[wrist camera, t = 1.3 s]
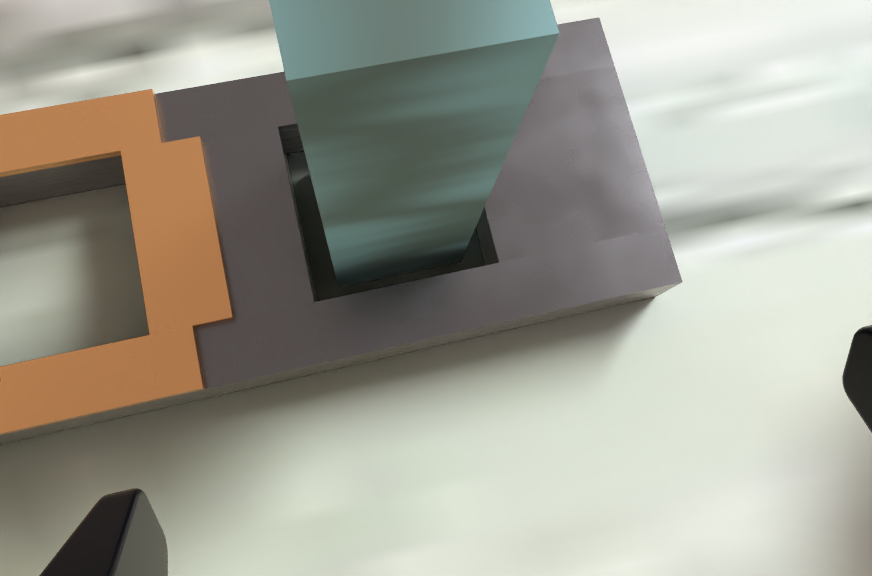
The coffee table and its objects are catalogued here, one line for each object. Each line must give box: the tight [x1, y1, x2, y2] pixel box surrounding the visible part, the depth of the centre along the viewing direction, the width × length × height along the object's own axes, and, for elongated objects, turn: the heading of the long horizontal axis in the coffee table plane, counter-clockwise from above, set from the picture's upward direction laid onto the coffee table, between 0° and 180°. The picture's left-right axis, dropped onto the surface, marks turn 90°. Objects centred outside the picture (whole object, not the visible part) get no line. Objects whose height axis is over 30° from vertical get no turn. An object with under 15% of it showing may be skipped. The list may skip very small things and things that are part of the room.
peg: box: [269, 0, 559, 287], centre depth 17 cm, size 4×4×13 cm
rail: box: [0, 18, 682, 445], centre depth 21 cm, size 26×9×2 cm, turn 104°
